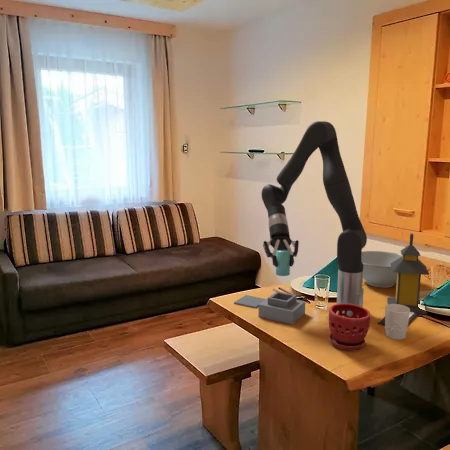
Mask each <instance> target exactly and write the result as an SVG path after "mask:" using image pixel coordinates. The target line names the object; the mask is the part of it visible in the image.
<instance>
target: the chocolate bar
mask: <svg viewBox="0 0 450 450" xmlns="http://www.w3.org/2000/svg"><path fill="white" fill-rule="evenodd" d="M418 316H419V314H418V313H414V312H410V313H409V321H408V326H409V325H410V324H411V323H412V322H413V321H414V320H415V319H416V318H417V317H418ZM377 325H378V326H379V325H380V326H384V327H385V316H384V317H382V319H380V320H379V321H378V322H377Z"/></svg>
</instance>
